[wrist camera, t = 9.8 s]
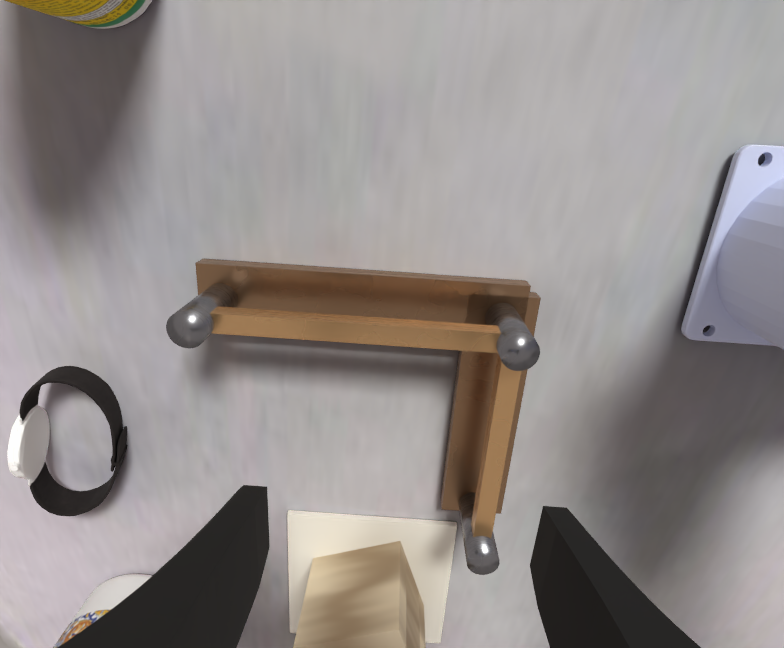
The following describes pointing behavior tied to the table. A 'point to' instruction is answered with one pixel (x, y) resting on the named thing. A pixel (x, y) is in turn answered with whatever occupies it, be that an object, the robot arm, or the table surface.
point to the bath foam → (102, 602)
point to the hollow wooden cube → (362, 601)
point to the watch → (35, 434)
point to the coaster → (351, 532)
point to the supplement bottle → (90, 11)
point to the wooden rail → (398, 328)
